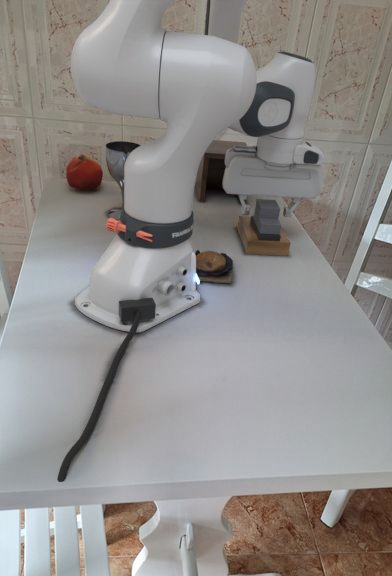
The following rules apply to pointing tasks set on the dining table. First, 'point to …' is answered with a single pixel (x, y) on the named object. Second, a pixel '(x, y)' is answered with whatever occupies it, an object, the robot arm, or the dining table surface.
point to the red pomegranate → (84, 173)
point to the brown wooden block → (261, 246)
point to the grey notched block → (266, 220)
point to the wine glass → (118, 166)
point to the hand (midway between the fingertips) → (265, 215)
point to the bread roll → (214, 267)
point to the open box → (213, 166)
